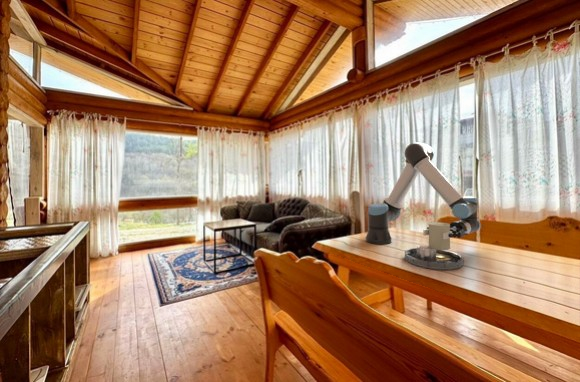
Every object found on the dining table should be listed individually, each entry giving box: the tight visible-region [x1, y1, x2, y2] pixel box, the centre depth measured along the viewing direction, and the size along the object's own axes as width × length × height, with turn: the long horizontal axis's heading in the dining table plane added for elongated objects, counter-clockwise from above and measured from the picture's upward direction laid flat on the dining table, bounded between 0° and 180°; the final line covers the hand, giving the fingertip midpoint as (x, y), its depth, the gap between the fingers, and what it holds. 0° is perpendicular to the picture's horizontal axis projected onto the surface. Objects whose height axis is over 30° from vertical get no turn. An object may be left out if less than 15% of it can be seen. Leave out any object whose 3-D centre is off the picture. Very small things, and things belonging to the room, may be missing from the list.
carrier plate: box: [404, 245, 465, 271], centre depth 123 cm, size 24×24×7 cm
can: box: [428, 221, 451, 251], centre depth 125 cm, size 9×9×12 cm
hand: (433, 234), depth 122 cm, fingers closed on can, 9 cm apart
